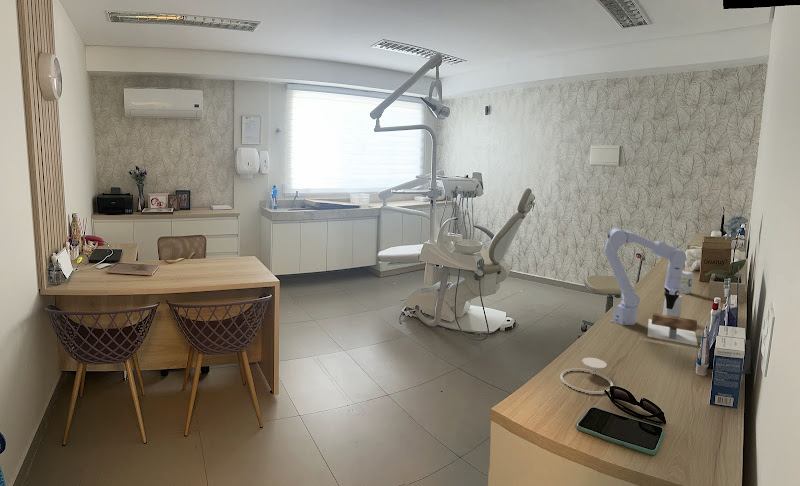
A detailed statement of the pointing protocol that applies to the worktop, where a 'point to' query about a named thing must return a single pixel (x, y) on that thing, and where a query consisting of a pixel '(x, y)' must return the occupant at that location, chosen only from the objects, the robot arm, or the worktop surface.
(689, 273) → the ink box
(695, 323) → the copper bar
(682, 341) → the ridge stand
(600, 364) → the hand towel holder
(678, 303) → the skincare box
